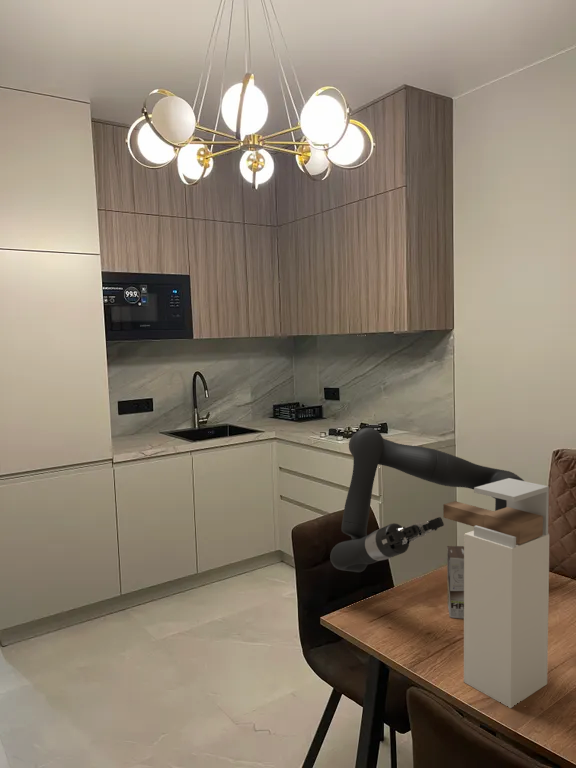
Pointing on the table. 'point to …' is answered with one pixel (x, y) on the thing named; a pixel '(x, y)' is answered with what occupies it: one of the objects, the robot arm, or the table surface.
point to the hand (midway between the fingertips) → (429, 525)
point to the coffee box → (455, 581)
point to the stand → (507, 600)
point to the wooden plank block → (497, 520)
